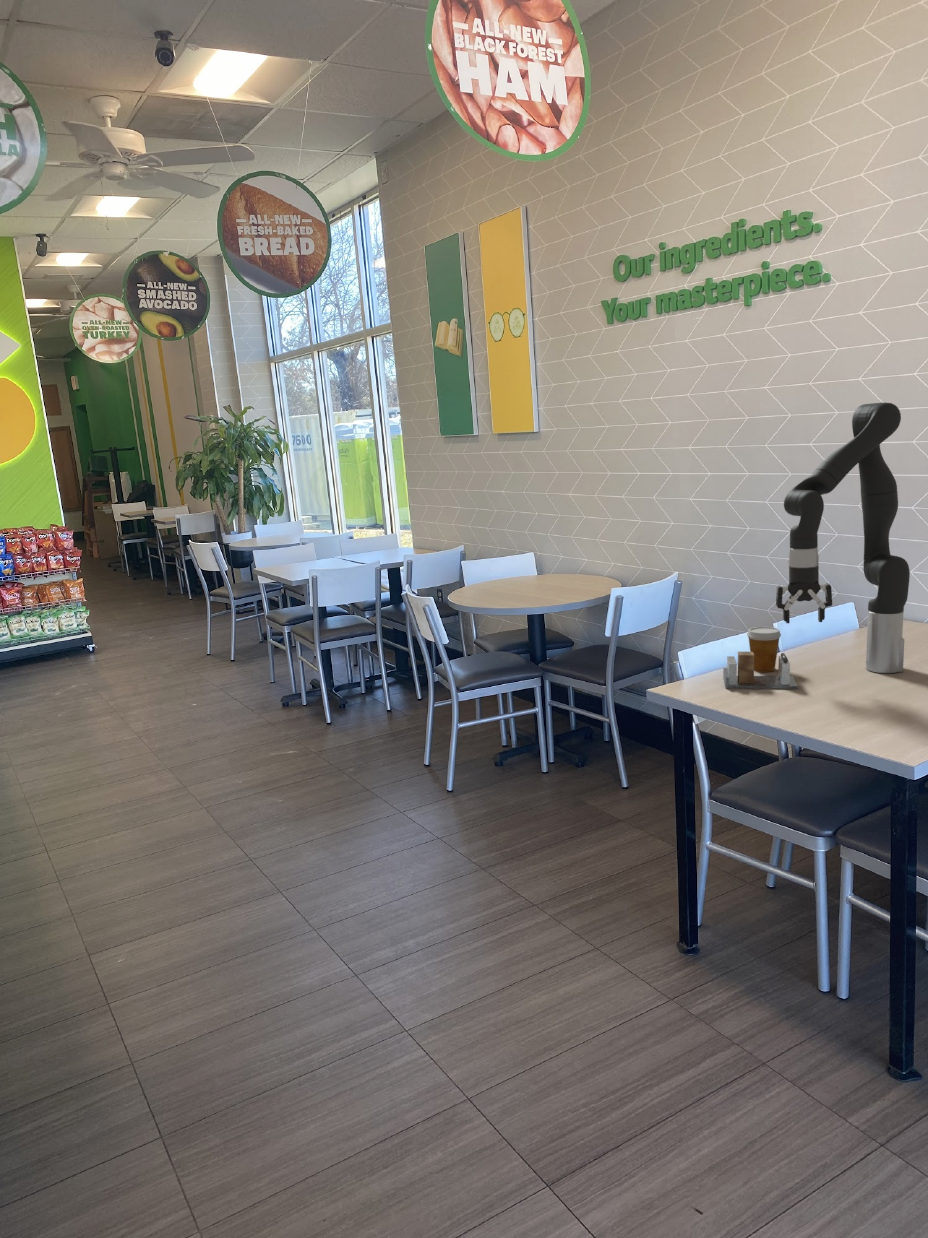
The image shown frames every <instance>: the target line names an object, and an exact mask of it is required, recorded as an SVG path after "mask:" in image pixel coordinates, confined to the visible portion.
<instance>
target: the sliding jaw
mask: <svg viewBox="0 0 928 1238" xmlns="http://www.w3.org/2000/svg"><path fill="white" fill-rule="evenodd" d="M777 670H778V673H777V676H778V677H779V679H780V681H781V684H782V685H790V676H791V663H790V661H789V659H788V657H787V655H786V654H785V652H782V653H781V654H780V655H778V669H777Z"/></svg>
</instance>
